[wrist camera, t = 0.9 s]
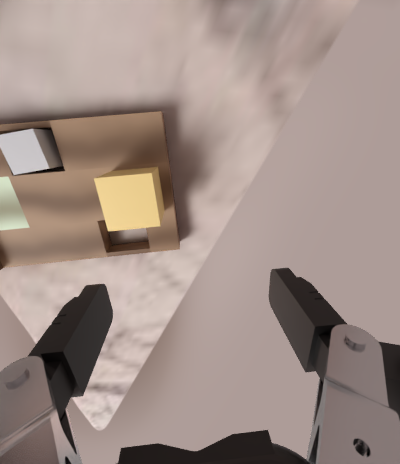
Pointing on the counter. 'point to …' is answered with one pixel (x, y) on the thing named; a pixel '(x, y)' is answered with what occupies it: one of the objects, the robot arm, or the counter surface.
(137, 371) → the counter surface
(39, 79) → the counter surface
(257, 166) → the counter surface
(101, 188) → the mustard block
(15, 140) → the grey block
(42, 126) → the box
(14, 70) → the counter surface
